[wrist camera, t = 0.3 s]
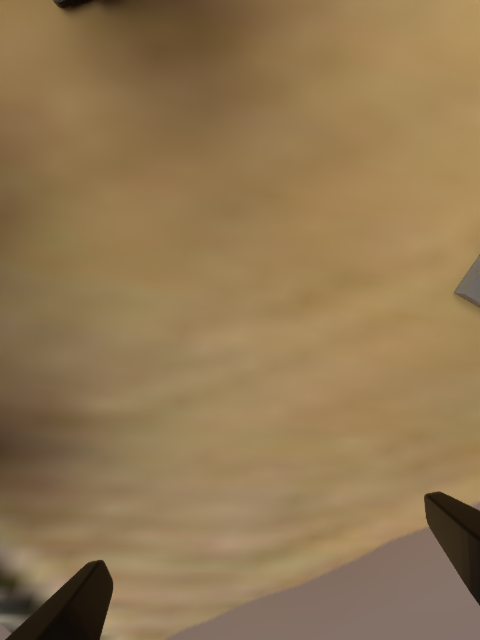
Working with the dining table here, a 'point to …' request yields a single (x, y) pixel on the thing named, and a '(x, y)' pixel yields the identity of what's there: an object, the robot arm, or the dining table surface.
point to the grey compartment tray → (471, 284)
